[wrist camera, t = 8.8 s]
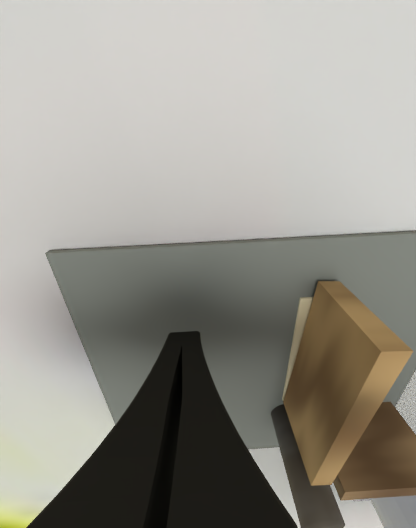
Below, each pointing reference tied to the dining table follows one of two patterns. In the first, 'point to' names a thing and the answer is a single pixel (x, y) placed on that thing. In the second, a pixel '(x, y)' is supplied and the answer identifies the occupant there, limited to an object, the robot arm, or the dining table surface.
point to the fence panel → (339, 378)
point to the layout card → (229, 310)
